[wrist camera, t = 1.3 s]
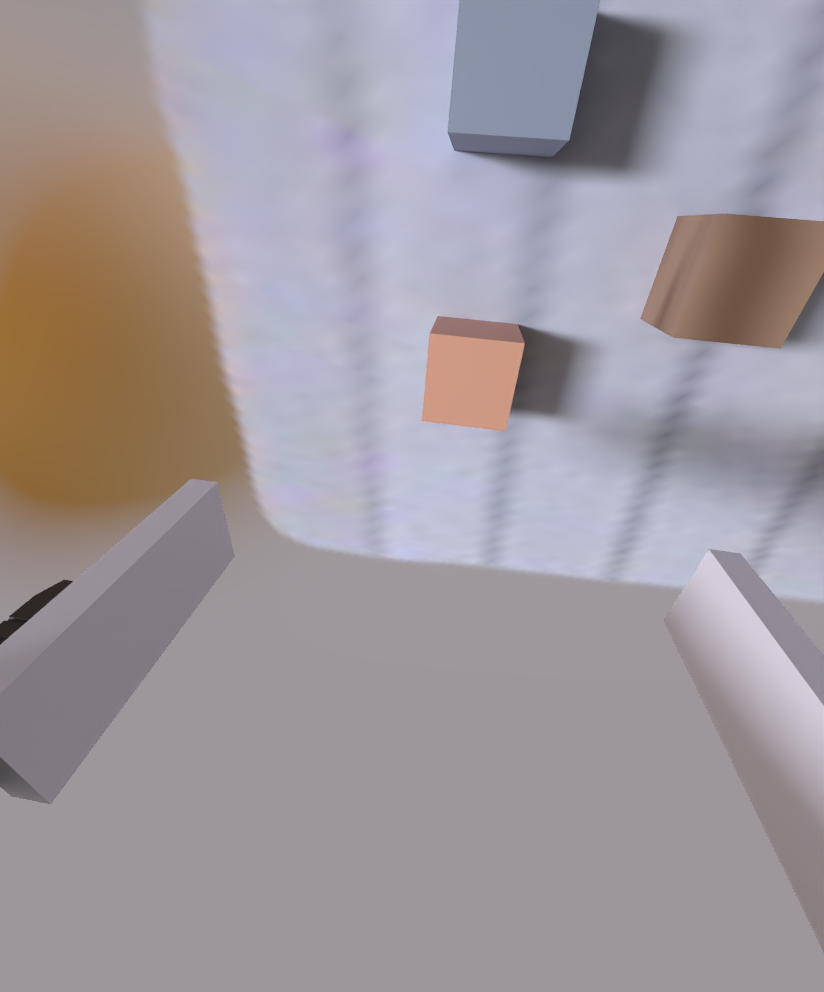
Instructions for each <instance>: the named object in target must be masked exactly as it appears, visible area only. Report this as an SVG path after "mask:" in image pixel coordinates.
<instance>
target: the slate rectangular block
mask: <svg viewBox="0 0 824 992" xmlns="http://www.w3.org/2000/svg"><path fill="white" fill-rule="evenodd" d="M599 3H600V0H460V1H459V12H458V24H457V35H456V46H455V57H454V68H453V79H452V90H451V101H450V112H449V123H448V134H449V137H450V140H451V143H452V145H453V148H454V150H455V151H469V152H484V153H498V154H512V155H526V156H540V157H553V156H554V155H555V154H556V153H557V152H558V151H559V150H560V149H561V148H562V147H563V146H564V145H565V144H566V143H567V142H568V141H569V140H570V135H571V131H572V126H573V122H574V117H575V113H576V108H577V103H578V99H579V94H580V90H581V85H582V81H583V76H584V72H585V67H586V62H587V58H588V53H589V49H590V44H591V40H592V35H593V31H594V26H595V22H596V17H597V12H598V8H599Z"/></svg>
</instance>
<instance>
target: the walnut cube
mask: <svg viewBox="0 0 824 992" xmlns="http://www.w3.org/2000/svg"><path fill="white" fill-rule="evenodd" d="M823 273H824V222H823V221H810V220H797V219H785V218H772V217H759V216H746V215H734V214H712V215H694V216H678V217H677V220H676V223H675V225H674V228H673V231H672V234H671V236H670V239H669V242H668V245H667V247H666V250H665V253H664V256H663V258H662V261H661V264H660V267H659V269H658V272H657V275H656V278H655V280H654V283H653V286H652V289H651V291H650V294H649V297H648V299H647V302H646V305H645V308H644V310H643V313H642V316H641V319H642V320H643V321H645V322H647V323H649V324H650V325H652V326H654V327H656V328H657V329H659V330H661V331H663V332H664V333H666V334H668V335H670V336H671V337H674V338H683V339H693V340H703V341H713V342H722V343H732V344H742V345H752V346H761V347H771V348H781V347H782V345H783V343H784V342H785V340H786V338H787V336H788V334H789V333H790V331H791V329H792V327H793V326H794V324H795V322H796V320H797V319H798V317H799V315H800V313H801V312H802V310H803V308H804V306H805V304H806V303H807V301H808V299H809V297H810V296H811V294H812V292H813V290H814V289H815V287H816V285H817V283H818V282H819V280H820V278H821V276H822V275H823Z"/></svg>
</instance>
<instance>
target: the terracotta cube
mask: <svg viewBox="0 0 824 992" xmlns="http://www.w3.org/2000/svg"><path fill="white" fill-rule="evenodd" d="M524 345H525V342H524V340H523V337H522V334H521V332H520V329H519V326H518V324H509V323H500V322H490V321H480V320H470V319H460V318H451V317H441V316H438V317H437V319H436V321H435V323H434V326H433V328H432V330H431V332H430V336H429V348H428V359H427V370H426V381H425V393H424V404H423V415H422V421H427V422H435V423H443V424H451V425H460V426H468V427H476V428H484V429H492V430H500V431H506V428H507V423H508V419H509V414H510V409H511V405H512V400H513V396H514V391H515V387H516V382H517V377H518V373H519V368H520V364H521V359H522V355H523V350H524Z"/></svg>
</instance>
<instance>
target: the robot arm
mask: <svg viewBox="0 0 824 992" xmlns="http://www.w3.org/2000/svg"><path fill="white" fill-rule="evenodd" d="M233 558H234V552H233V548H232V544H231V539H230V535H229V530H228V526H227V522H226V518H225V513H224V509H223V505H222V501H221V497H220V492H219V488H218V484H217V482H210V481H202V480H195V479H191V480H189V481H188V482H187V483H186V484H185V485H184V486H182V487H181V488H180V489H179V490H178V491H177V492H176V493H174V494H173V495H172V496H171V497H170V498H169V499H167V500H166V501H165V502H164V503H163V504H162V505H161V506H159V507H158V508H157V509H156V510H155V511H154V512H152V513H151V514H150V515H149V516H148V517H147V518H146V519H144V520H143V521H142V522H141V523H140V524H139V525H138V526H136V527H135V528H134V529H133V530H132V531H131V532H129V533H128V534H127V535H126V536H125V537H124V538H123V539H121V541H119V542H118V543H117V544H116V545H115V546H113V547H112V548H111V549H110V550H109V551H108V552H107V553H105V554H104V555H103V556H102V557H101V558H100V559H99V560H97V561H96V562H95V563H94V564H93V565H92V566H90V567H89V568H88V569H87V570H86V571H85V572H83V573H82V574H81V575H80V576H79V577H78V578H77V579H75V580H74V581H68V580H63V581H61V582H59V583H57V584H55V585H53V586H52V587H50V588H48V589H47V590H44V591H42V592H41V593H39V594H37V595H35V596H34V597H32V598H31V599H30V600H29V601H28V602H26V603H25V604H24V605H23V606H21V607H20V608H19V609H18V610H17V611H15V612H14V613H13V614H12V615H10V616H9V617H10V618H9V620H8V621H3V622H2V623H1V624H0V787H1V788H2V789H4V790H5V791H6V792H7V793H8V794H10V795H11V796H13V797H18V798H23V799H28V800H33V801H38V802H43V803H48V804H51V803H52V802H53V800H54V799H55V798H56V796H57V795H58V794H59V792H60V791H61V789H62V788H63V787H64V785H65V784H66V783H67V781H68V780H69V779H70V777H71V776H72V775H73V773H74V772H75V771H76V769H77V768H78V766H79V765H80V764H81V762H82V761H83V760H84V759H85V757H86V756H87V754H88V753H89V752H90V750H91V749H92V748H93V746H94V745H95V744H96V742H97V741H98V740H99V738H100V737H101V736H102V734H103V733H104V731H105V730H106V729H107V728H108V726H109V725H110V723H111V722H112V721H113V719H114V718H115V717H116V715H117V714H118V713H119V711H120V710H121V709H122V707H123V706H124V705H125V703H126V702H127V701H128V699H129V698H130V697H131V695H132V694H133V692H134V691H135V690H136V688H137V687H138V686H139V684H140V683H141V682H142V680H143V679H144V678H145V676H146V675H147V673H148V672H149V671H150V670H151V668H152V667H153V665H154V664H155V663H156V662H157V660H158V659H159V657H160V656H161V654H162V653H163V652H164V651H165V649H166V648H167V647H168V645H169V644H170V643H171V641H172V640H173V639H174V637H175V636H176V635H177V633H178V632H179V631H180V629H181V628H182V626H183V625H184V624H185V622H186V621H187V620H188V618H189V617H190V616H191V614H192V613H193V612H194V610H195V609H196V608H197V606H198V605H199V604H200V602H201V601H202V599H203V598H204V597H205V595H206V594H207V593H208V591H209V590H210V589H211V587H212V586H213V585H214V583H215V582H216V581H217V579H218V578H219V577H220V575H221V574H222V573H223V571H224V570H225V569H226V567H227V566H228V565H229V563H230V562H231V560H232V559H233ZM664 622H665V624H666V626H667V628H668V630H669V632H670V634H671V636H672V639H673V641H674V643H675V645H676V647H677V649H678V651H679V653H680V655H681V657H682V659H683V661H684V664H685V665H686V668H687V670H688V672H689V674H690V676H691V678H692V680H693V682H694V684H695V686H696V688H697V690H698V693H699V694H700V697H701V699H702V701H703V703H704V705H705V707H706V709H707V711H708V713H709V715H710V717H711V720H712V721H713V723H714V726H715V728H716V730H717V732H718V734H719V736H720V738H721V740H722V742H723V744H724V746H725V749H726V751H727V753H728V754H729V757H730V759H731V761H732V763H733V765H734V767H735V769H736V771H737V773H738V775H739V778H740V780H741V782H742V783H743V786H744V788H745V790H746V792H747V794H748V796H749V798H750V800H751V802H752V804H753V807H754V808H755V811H756V813H757V815H758V817H759V819H760V821H761V823H762V825H763V827H764V829H765V831H766V834H767V836H768V837H769V840H770V842H771V844H772V846H773V848H774V850H775V852H776V854H777V856H778V858H779V860H780V863H781V864H782V867H783V869H784V871H785V873H786V875H787V877H788V879H789V881H790V883H791V885H792V887H793V889H794V892H795V893H796V896H797V898H798V900H799V902H800V904H801V906H802V908H803V910H804V912H805V914H806V916H807V919H808V920H809V923H810V925H811V927H812V929H813V931H814V933H815V935H816V937H817V939H818V941H819V943H820V945H821V948H822V950H823V952H824V655H823V654H822V652H821V651H820V650H819V649H818V648H817V646H816V645H815V644H814V643H813V641H812V640H811V639H810V638H809V637H808V635H807V634H806V633H805V632H804V630H803V629H802V628H801V627H800V626H799V625H798V623H797V622H796V621H795V620H794V618H793V617H792V616H791V615H790V613H789V612H788V611H787V610H786V609H785V607H784V606H783V605H782V604H781V602H780V601H779V600H778V599H777V598H776V596H775V595H774V594H773V593H772V591H771V590H770V589H769V588H768V587H767V585H766V584H765V583H764V582H763V580H762V579H761V578H760V577H759V576H758V574H757V573H756V572H755V571H754V570H753V568H752V567H751V566H750V565H749V563H748V562H747V561H746V560H745V559H744V557H743V556H742V555H741V554H740V553H733V552H725V551H718V550H711V549H709V550H708V552H707V553H706V555H705V556H704V558H703V559H702V561H701V563H700V564H699V566H698V567H697V569H696V570H695V572H694V573H693V575H692V577H691V578H690V580H689V581H688V583H687V584H686V586H685V588H684V589H683V591H682V592H681V594H680V595H679V597H678V599H677V600H676V602H675V603H674V605H673V607H672V608H671V609H670V611H669V613H668V614H667V616H666V617H665V619H664Z"/></svg>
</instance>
